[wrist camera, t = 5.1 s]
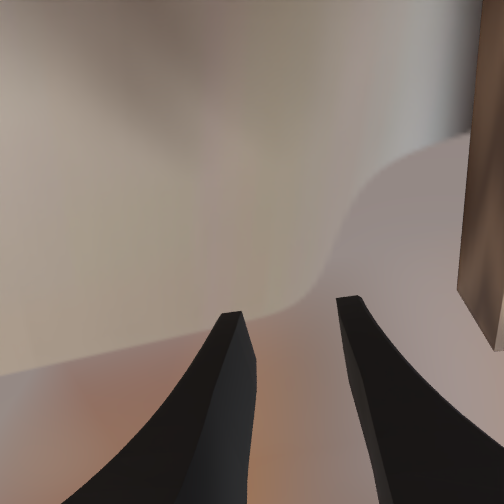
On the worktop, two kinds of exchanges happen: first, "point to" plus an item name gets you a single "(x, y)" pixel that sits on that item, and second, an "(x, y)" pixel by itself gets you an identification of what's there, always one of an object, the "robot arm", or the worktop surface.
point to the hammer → (486, 186)
